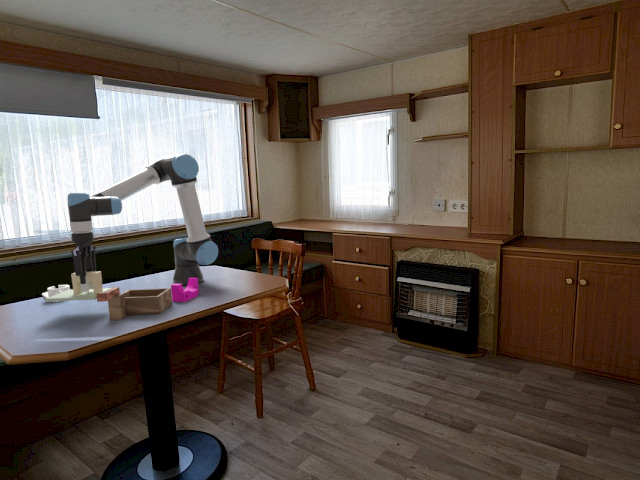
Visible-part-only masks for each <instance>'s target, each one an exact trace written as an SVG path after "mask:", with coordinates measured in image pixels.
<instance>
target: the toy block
mask: <svg viewBox="0 0 640 480" xmlns="http://www.w3.org/2000/svg"><path fill="white" fill-rule="evenodd" d="M199 287H200V286H199V283H198V278H189V279H188V285H186V287H185V289H184V286H183V285H182V284H173V283H172V284H170V288H171V296H172V302H176V303H177V302H180V303H184V302H188V301H189V300H191V299H194V298H196V297H198V296H199V293H200V289H199Z"/></svg>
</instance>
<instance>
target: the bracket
mask: <svg viewBox="0 0 640 480" xmlns="http://www.w3.org/2000/svg"><path fill="white" fill-rule="evenodd" d="M70 286H71V285H69V284H58V288H56V286H54V285H53V286H49V287H47V289H46V290H47V291H45V292H42V293H41V296H42V297H43V298H45V299H46V298H49V297H51V296H54V295H56V294H58V293H61V292H63V291H66V290H68V289H71V287H70ZM50 302H57V303H58V301H49V303H50Z"/></svg>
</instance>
